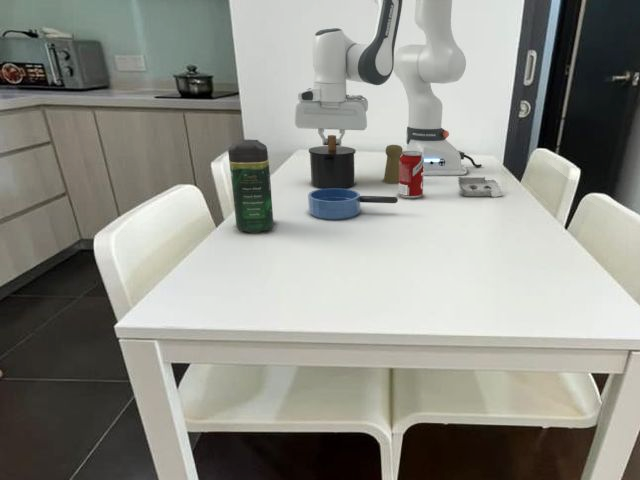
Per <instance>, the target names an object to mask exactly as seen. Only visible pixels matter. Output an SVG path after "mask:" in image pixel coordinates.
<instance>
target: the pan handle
mask: <svg viewBox="0 0 640 480" xmlns="http://www.w3.org/2000/svg"><path fill="white" fill-rule="evenodd" d="M398 201H399V199H398V197H396V196H387V195H385V196H382V195H381V196H380V195H360V203H367V204H368V203H369V204H371V203H372V204H397V203H398Z"/></svg>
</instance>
